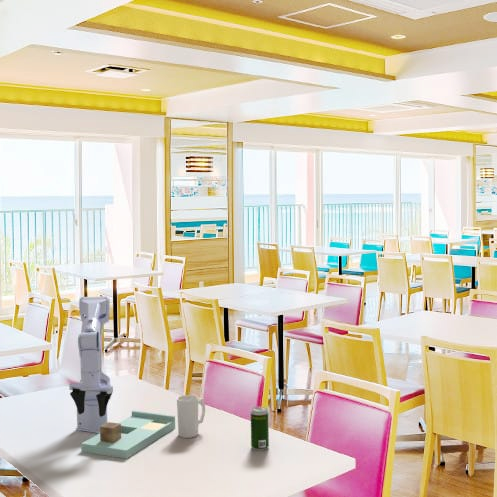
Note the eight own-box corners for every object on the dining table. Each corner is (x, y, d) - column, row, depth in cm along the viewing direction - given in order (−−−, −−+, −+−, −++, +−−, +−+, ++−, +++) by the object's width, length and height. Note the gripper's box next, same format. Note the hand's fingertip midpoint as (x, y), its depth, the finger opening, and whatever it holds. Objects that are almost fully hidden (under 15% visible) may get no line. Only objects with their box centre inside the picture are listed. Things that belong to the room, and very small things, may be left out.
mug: (185, 440, 223) (184, 402, 222) (173, 434, 228) (172, 397, 227) (211, 432, 229) (210, 396, 228) (199, 427, 235) (198, 391, 234)
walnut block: (100, 441, 216) (99, 426, 216) (108, 436, 220) (108, 422, 220) (112, 443, 214) (112, 428, 214) (121, 438, 218) (120, 423, 218)
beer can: (272, 449, 214) (271, 410, 213) (256, 452, 212) (255, 412, 211) (263, 443, 219) (263, 405, 218) (248, 446, 217) (247, 408, 216)
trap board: (81, 451, 214) (81, 438, 214) (133, 422, 241) (133, 410, 241) (126, 458, 208) (126, 445, 208) (175, 427, 235) (174, 415, 234)
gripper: (62, 372, 217) (64, 415, 218) (103, 375, 212) (104, 420, 213) (76, 366, 224) (77, 409, 225) (116, 370, 218) (117, 413, 219)
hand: (91, 414), depth 219 cm, fingers open, 7 cm apart
